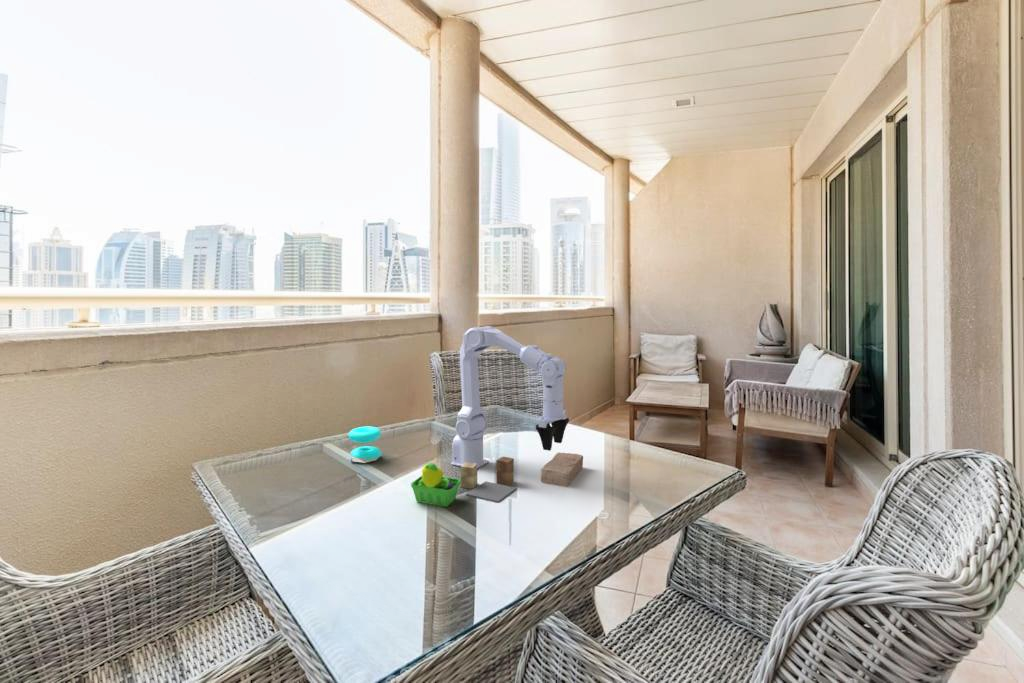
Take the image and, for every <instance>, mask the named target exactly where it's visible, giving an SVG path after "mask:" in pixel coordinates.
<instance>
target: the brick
mask: <svg viewBox="0 0 1024 683" xmlns="http://www.w3.org/2000/svg"><path fill="white" fill-rule="evenodd" d="M583 465H584V455H582V454H579V453H570V452H567V453H566V452H559V451H558V452H557V453H555V455H554V456H553V457H552V459H551V460H549V461H548V462H547V463H545V465H543V466H542V468H541V470H540V471H541V472H540V483H542V484H546V485H551V486H557V487H563V488H564V487H565V488H566V487H568V486H569V485H570V484H571V483H572V481H573V480H574V479H575V478H576V476H577V475H578V474H579V473H580V471H581V470H582V469H583Z"/></svg>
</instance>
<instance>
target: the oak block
mask: <svg viewBox="0 0 1024 683" xmlns="http://www.w3.org/2000/svg"><path fill="white" fill-rule="evenodd" d="M460 480H461V481H460V488H462V489H471V490H473V489H474V488H476V487H477V485H478V468H477V463H466V462H465V463H464V464H463V465H462V466H460Z"/></svg>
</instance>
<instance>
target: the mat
mask: <svg viewBox="0 0 1024 683" xmlns="http://www.w3.org/2000/svg"><path fill="white" fill-rule="evenodd" d="M516 490H517V487H513V486H510V485H509V486H505V485H501V484H497V482H496V483H495V482H491V481H484V482H482V483H481V484H479V485H478V486H475V487H474V488H473V489H471V490H470V491H468V492H467V493H466V494H465V496H468V497H472V498H476V499H477V498H478V499H481V500H485V501H489V502H494V503H497V504H498V503H500V502H501V501H502V500H504V499H505V498H507V497H508V496H509V495H511V494H512V493H514V492H515V491H516Z"/></svg>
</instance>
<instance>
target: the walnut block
mask: <svg viewBox="0 0 1024 683" xmlns="http://www.w3.org/2000/svg"><path fill="white" fill-rule="evenodd" d="M514 459H515V458H513V457H508V456H501V457H499V458H498V459H496V461H495V462H496V466H495V467H496V484H501V485H505V486H510V485H512V484H513V483H514V482H515V481H514V480H515V478H514V476H515V474H514V473H515V471H514V470H515V469H514V468H515V464H514V463H515V460H514Z"/></svg>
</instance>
